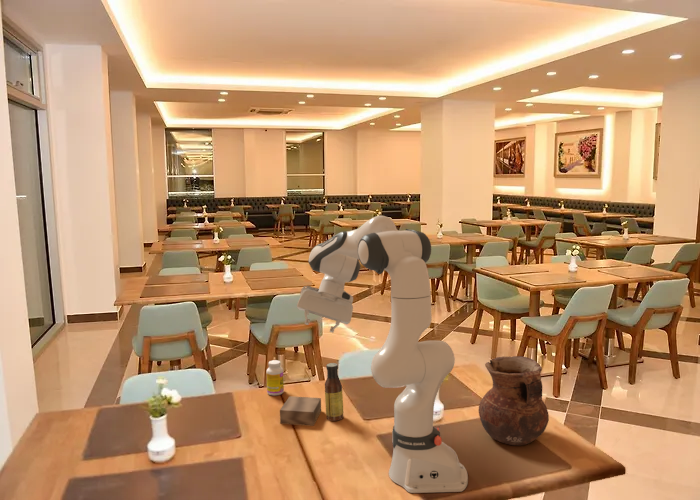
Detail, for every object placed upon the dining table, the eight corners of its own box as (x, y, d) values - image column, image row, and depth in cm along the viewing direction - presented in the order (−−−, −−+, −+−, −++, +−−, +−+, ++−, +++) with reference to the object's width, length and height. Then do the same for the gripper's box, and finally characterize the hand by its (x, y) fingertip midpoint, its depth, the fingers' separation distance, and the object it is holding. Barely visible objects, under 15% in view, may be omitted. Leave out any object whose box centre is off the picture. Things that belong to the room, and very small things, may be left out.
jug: (466, 436, 178) (467, 364, 175) (496, 415, 193) (498, 348, 190) (530, 460, 163) (533, 381, 160) (558, 435, 178) (561, 362, 175)
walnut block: (321, 410, 199) (320, 398, 199) (313, 425, 188) (313, 412, 187) (289, 409, 201) (289, 396, 201) (280, 423, 190) (279, 410, 189)
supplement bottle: (282, 396, 213) (281, 364, 212) (265, 396, 213) (264, 365, 212) (284, 389, 220) (283, 359, 218) (268, 389, 220) (267, 359, 218)
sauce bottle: (346, 416, 194) (345, 363, 192) (337, 423, 189) (336, 369, 186) (331, 412, 198) (330, 360, 195) (321, 419, 193) (320, 365, 190)
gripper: (303, 281, 195) (291, 317, 190) (357, 298, 194) (346, 334, 190) (303, 286, 201) (291, 321, 196) (355, 302, 200) (345, 338, 195)
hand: (318, 328), depth 193 cm, fingers open, 8 cm apart
